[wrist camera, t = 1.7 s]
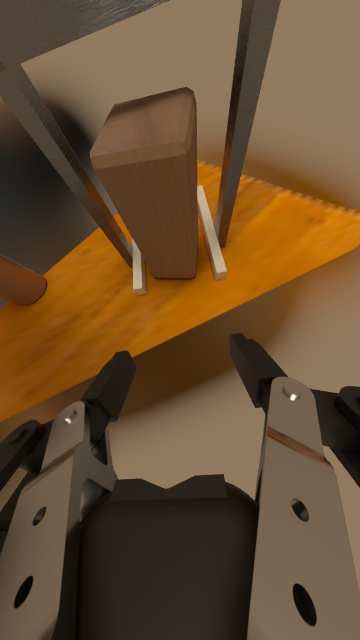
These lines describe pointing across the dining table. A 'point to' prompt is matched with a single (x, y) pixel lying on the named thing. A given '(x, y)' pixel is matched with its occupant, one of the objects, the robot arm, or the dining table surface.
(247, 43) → the arch
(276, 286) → the dining table surface
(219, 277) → the walled lane
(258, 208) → the dining table surface
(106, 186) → the wooden block
